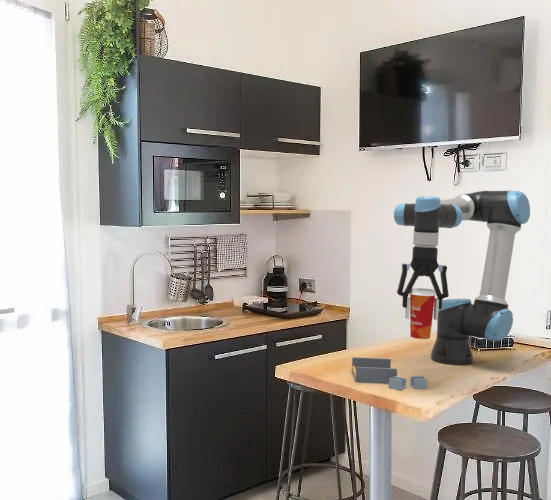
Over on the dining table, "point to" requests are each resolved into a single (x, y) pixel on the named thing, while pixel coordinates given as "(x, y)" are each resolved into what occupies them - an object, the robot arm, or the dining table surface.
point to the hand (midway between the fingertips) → (421, 318)
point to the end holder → (372, 370)
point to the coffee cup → (421, 312)
